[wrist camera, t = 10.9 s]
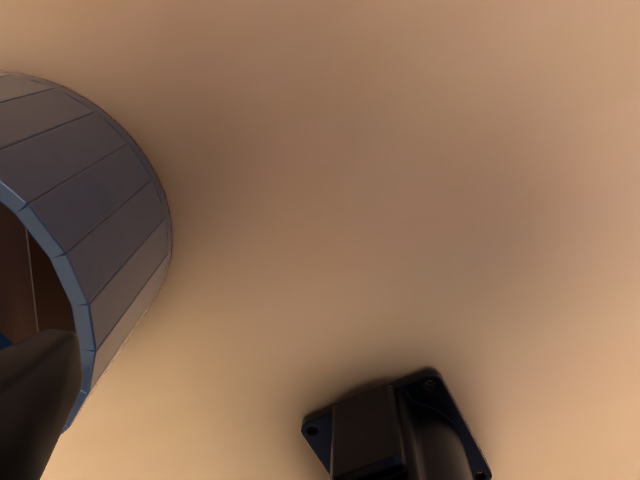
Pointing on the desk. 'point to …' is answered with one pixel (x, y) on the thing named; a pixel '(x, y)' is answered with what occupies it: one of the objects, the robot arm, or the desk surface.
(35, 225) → the dark grey round bowl
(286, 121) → the desk surface
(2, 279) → the dark rectangular block
